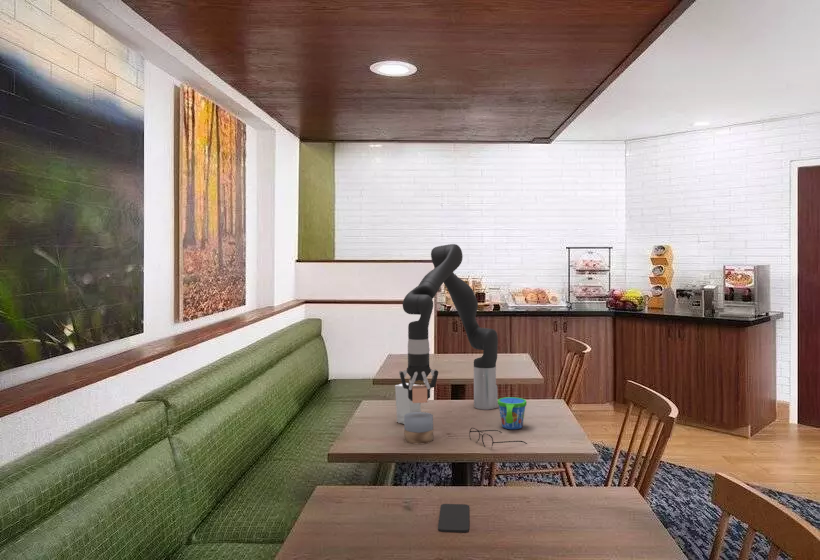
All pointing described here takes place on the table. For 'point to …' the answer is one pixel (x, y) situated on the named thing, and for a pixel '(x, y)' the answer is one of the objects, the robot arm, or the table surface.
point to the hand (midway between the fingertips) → (418, 399)
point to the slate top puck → (418, 422)
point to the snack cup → (512, 412)
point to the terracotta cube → (419, 394)
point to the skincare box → (404, 403)
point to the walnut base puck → (418, 437)
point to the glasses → (490, 436)
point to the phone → (454, 518)
